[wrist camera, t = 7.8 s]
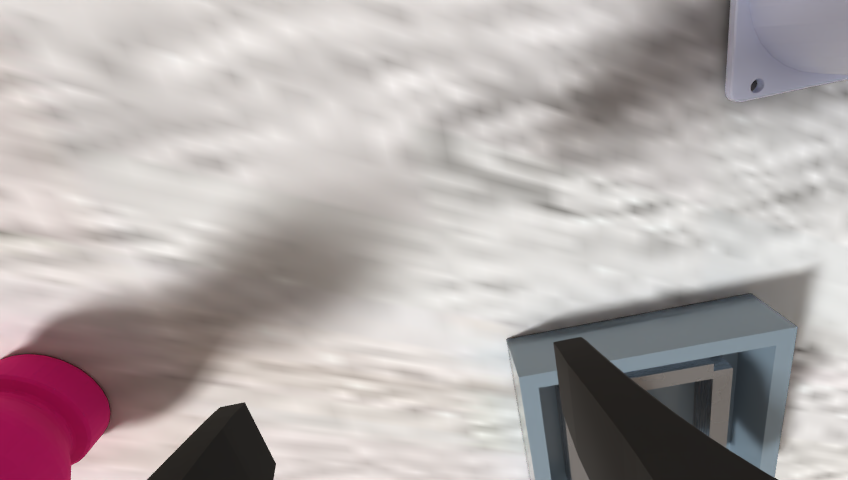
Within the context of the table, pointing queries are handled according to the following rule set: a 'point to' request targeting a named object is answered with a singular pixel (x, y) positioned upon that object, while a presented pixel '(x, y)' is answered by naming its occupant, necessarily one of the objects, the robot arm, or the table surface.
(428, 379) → the table surface
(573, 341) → the robot arm
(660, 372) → the grey square frame
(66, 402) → the pepper mill
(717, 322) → the blue-grey square tray
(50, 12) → the table surface
